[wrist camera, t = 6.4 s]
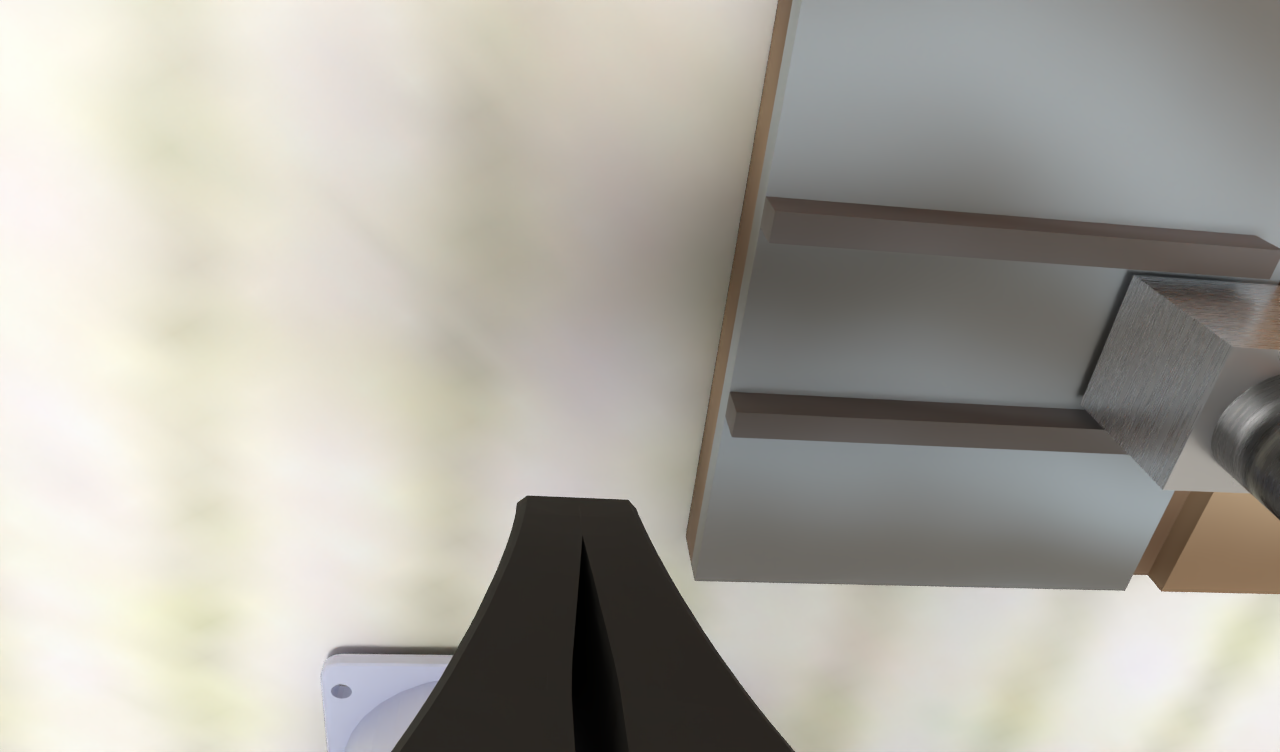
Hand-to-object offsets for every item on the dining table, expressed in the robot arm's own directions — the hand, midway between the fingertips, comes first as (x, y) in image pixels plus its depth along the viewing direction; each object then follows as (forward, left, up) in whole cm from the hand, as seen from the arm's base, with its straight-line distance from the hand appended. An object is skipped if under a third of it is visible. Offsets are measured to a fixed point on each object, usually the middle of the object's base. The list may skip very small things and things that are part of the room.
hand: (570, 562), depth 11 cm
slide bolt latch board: (0, -15, -9) cm, 17 cm away
